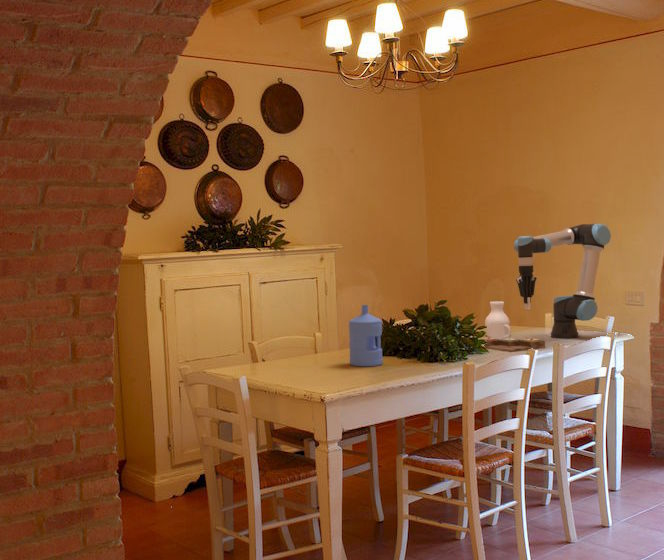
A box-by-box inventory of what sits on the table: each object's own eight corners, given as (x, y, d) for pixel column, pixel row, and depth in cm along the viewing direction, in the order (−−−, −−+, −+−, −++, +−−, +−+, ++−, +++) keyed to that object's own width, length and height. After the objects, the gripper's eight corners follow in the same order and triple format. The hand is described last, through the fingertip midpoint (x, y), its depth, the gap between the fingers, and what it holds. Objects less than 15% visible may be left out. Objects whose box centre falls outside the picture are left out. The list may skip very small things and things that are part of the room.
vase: (512, 337, 484) (511, 302, 482) (487, 338, 484) (486, 303, 483) (507, 334, 498) (506, 300, 497) (483, 335, 498) (482, 301, 497)
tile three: (531, 343, 445) (531, 338, 445) (539, 344, 440) (539, 339, 440) (523, 344, 442) (523, 339, 442) (531, 345, 437) (531, 340, 437)
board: (509, 342, 463) (509, 336, 462) (545, 347, 439) (545, 340, 439) (475, 346, 451) (475, 339, 451) (510, 352, 427) (510, 345, 427)
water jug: (345, 366, 396) (343, 306, 395) (355, 361, 411) (354, 303, 409) (377, 367, 391) (375, 307, 389) (386, 362, 406) (385, 303, 404)
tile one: (510, 342, 449) (510, 337, 449) (518, 343, 444) (518, 338, 444) (501, 343, 446) (501, 338, 446) (509, 344, 441) (509, 339, 441)
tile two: (489, 342, 453) (489, 337, 453) (497, 343, 448) (496, 338, 448) (480, 343, 450) (480, 338, 450) (488, 344, 445) (488, 339, 445)
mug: (515, 340, 471) (514, 321, 471) (506, 341, 466) (506, 323, 465) (497, 338, 480) (496, 320, 479) (488, 340, 474) (488, 322, 474)
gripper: (529, 264, 456) (531, 307, 457) (511, 266, 449) (513, 310, 451) (539, 264, 449) (541, 308, 451) (522, 266, 443) (523, 311, 444)
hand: (527, 309), depth 451 cm, fingers closed
